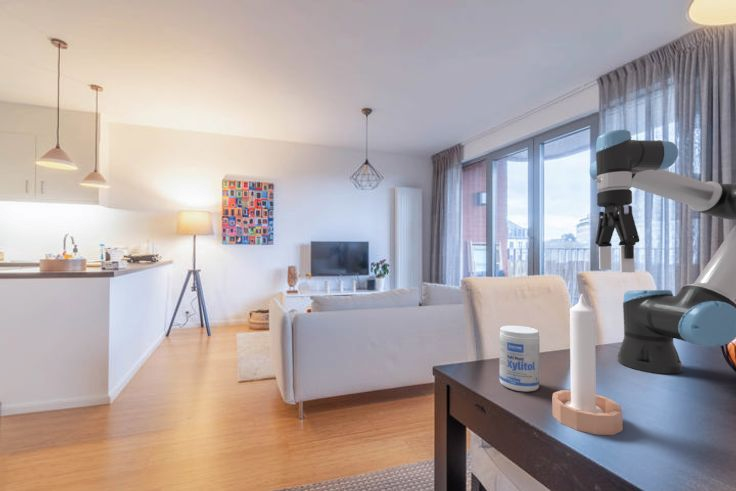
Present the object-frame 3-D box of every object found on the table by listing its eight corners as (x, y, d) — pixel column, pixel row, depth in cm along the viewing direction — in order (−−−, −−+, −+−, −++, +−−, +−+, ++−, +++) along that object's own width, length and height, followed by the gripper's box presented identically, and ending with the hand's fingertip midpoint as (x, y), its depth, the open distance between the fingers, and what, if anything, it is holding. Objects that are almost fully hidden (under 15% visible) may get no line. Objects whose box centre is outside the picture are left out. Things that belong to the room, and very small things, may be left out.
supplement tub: (508, 393, 84) (507, 333, 84) (494, 378, 94) (493, 325, 94) (547, 393, 84) (546, 333, 84) (529, 378, 93) (528, 325, 94)
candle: (609, 422, 68) (608, 296, 67) (569, 418, 70) (567, 295, 69) (596, 405, 74) (595, 291, 74) (560, 402, 76) (559, 290, 76)
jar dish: (596, 406, 77) (595, 390, 77) (637, 434, 65) (637, 415, 65) (542, 406, 77) (541, 390, 77) (573, 434, 65) (573, 415, 65)
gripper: (582, 198, 103) (583, 268, 103) (617, 182, 79) (619, 273, 79) (610, 197, 101) (612, 268, 101) (656, 180, 77) (658, 273, 77)
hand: (615, 271), depth 90 cm, fingers open, 13 cm apart
